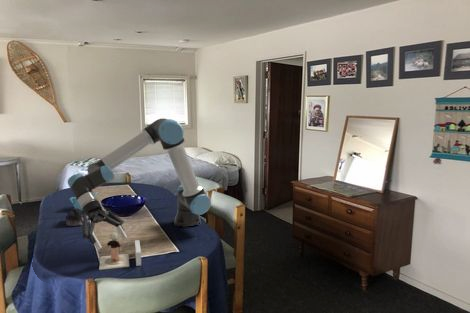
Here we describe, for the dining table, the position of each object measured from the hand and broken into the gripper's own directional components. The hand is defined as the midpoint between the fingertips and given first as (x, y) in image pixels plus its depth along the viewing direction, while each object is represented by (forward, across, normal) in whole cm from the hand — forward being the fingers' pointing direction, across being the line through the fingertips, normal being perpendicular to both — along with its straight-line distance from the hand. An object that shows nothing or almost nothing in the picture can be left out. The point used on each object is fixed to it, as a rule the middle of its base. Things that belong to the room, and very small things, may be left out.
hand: (113, 243), depth 155 cm
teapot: (-46, -38, -59) cm, 84 cm away
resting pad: (+6, 0, -6) cm, 8 cm away
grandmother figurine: (+6, 0, -5) cm, 8 cm away
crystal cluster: (-34, -21, -46) cm, 60 cm away
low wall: (+10, -8, -2) cm, 13 cm away
